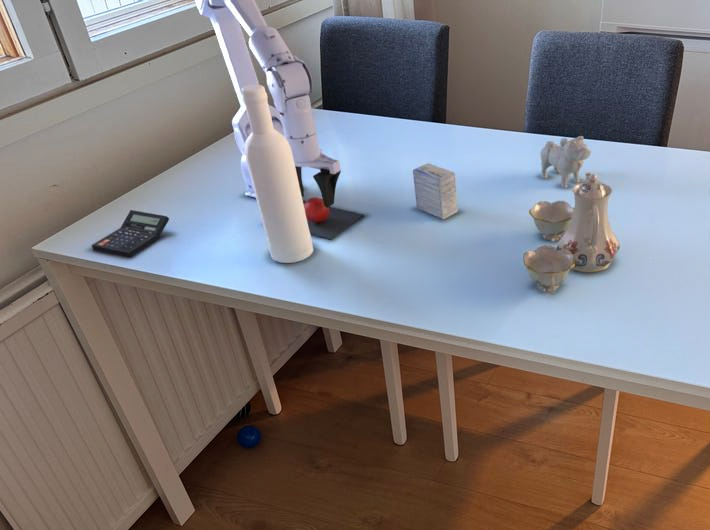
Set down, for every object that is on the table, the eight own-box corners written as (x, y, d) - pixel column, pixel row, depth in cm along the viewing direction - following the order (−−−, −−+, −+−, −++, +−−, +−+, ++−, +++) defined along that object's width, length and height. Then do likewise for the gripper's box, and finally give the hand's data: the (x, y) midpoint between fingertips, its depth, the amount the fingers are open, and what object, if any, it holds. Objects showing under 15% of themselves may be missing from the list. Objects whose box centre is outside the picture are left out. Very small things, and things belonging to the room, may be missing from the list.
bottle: (322, 248, 125) (288, 83, 107) (293, 267, 120) (251, 98, 102) (292, 239, 129) (253, 77, 110) (262, 257, 124) (216, 91, 105)
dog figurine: (576, 194, 140) (579, 144, 133) (535, 175, 148) (536, 128, 141) (594, 187, 142) (598, 138, 135) (553, 169, 150) (555, 121, 143)
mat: (268, 224, 134) (267, 222, 134) (303, 202, 142) (303, 200, 141) (330, 240, 128) (330, 238, 128) (364, 216, 135) (364, 214, 135)
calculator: (93, 249, 129) (86, 235, 127) (137, 222, 137) (132, 209, 135) (130, 256, 126) (124, 242, 124) (173, 228, 134) (168, 215, 132)
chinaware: (524, 231, 131) (515, 149, 121) (610, 221, 129) (608, 138, 119) (528, 313, 109) (517, 222, 99) (631, 303, 107) (631, 209, 97)
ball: (300, 224, 133) (295, 200, 130) (317, 214, 136) (312, 191, 133) (320, 229, 131) (315, 205, 128) (336, 219, 134) (332, 195, 131)
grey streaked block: (458, 212, 135) (456, 172, 130) (443, 220, 133) (439, 179, 127) (431, 202, 139) (428, 162, 134) (416, 209, 137) (411, 169, 131)
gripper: (345, 131, 122) (356, 200, 131) (284, 120, 128) (299, 187, 136) (320, 144, 117) (334, 215, 126) (258, 133, 123) (275, 201, 131)
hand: (314, 201), depth 131 cm, fingers open, 7 cm apart
